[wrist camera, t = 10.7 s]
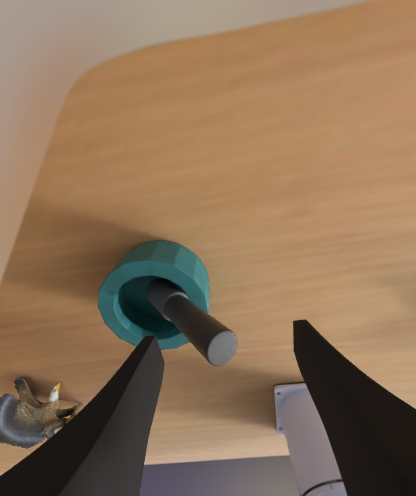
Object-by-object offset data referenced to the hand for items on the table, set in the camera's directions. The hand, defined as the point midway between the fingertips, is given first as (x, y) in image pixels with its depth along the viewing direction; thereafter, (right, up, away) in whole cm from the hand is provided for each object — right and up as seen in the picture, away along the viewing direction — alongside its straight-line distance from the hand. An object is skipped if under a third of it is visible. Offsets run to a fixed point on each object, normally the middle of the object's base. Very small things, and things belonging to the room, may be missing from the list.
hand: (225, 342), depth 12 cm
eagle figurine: (-21, -14, +18) cm, 31 cm away
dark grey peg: (-6, +1, +10) cm, 11 cm away
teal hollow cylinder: (-5, +2, +11) cm, 12 cm away
